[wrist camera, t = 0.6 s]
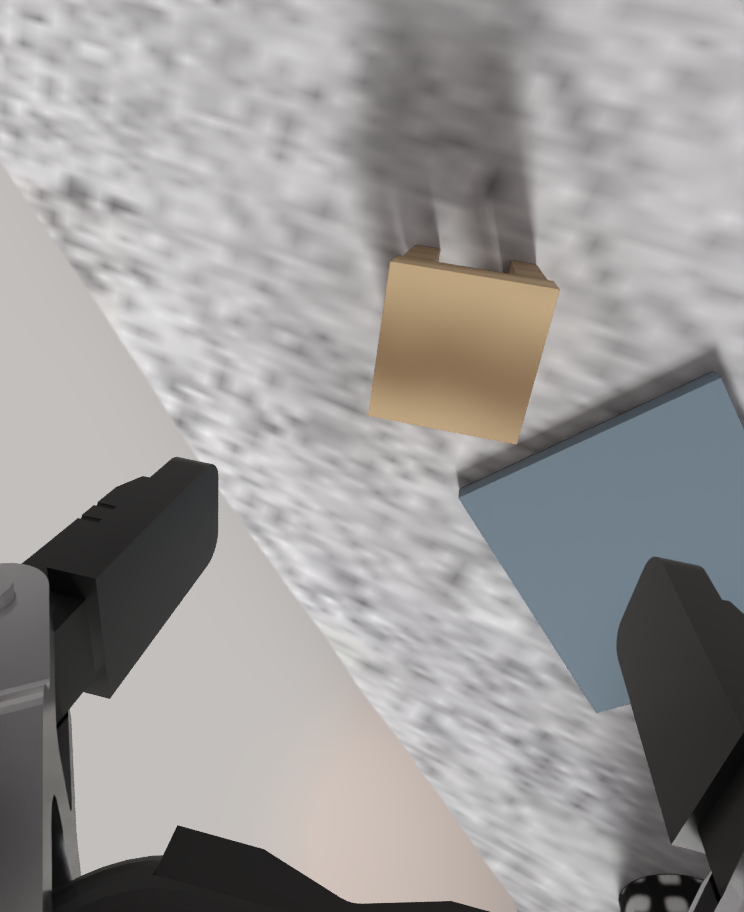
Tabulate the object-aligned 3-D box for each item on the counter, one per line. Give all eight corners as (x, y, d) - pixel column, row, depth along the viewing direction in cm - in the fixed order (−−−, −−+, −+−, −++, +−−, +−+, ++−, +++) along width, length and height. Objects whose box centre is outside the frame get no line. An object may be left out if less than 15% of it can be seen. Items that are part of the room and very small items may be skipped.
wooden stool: (414, 242, 27) (389, 261, 20) (539, 262, 26) (559, 289, 19) (395, 361, 30) (368, 415, 23) (508, 382, 29) (516, 444, 22)
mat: (459, 489, 32) (458, 497, 31) (713, 371, 27) (721, 377, 26) (593, 700, 37) (596, 713, 36) (830, 634, 32) (840, 647, 31)
